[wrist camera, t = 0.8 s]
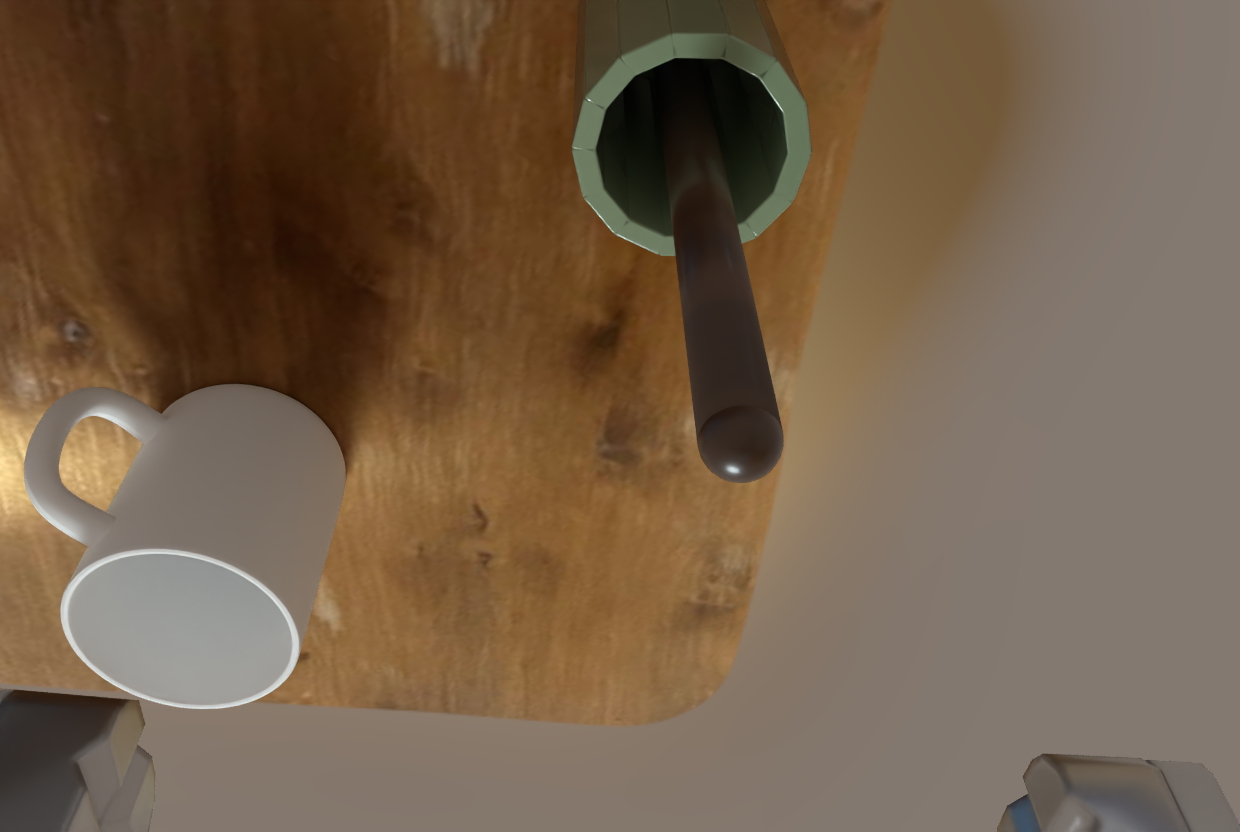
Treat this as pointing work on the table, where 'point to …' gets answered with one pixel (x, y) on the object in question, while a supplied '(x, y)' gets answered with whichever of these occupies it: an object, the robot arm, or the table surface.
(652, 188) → the crock
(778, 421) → the dark wooden dowel
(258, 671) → the cup
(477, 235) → the table surface
